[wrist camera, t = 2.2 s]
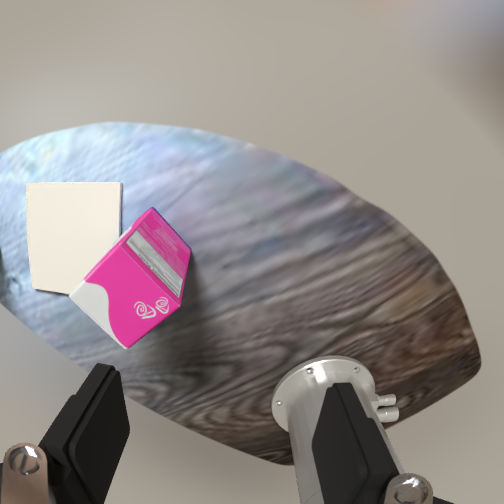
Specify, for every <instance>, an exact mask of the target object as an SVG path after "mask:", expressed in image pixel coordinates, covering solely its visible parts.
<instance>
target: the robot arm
mask: <svg viewBox="0 0 504 504" xmlns="http://www.w3.org/2000/svg"><path fill="white" fill-rule="evenodd" d="M395 402H396V397H395V395H394V394H390V395H384V396H378V394H375V383H374V380H373V377H372V375H371V373H370V372H369V370H368V369H367V368H366V367H365V366H364V364H362V363H361V362H359V361H358V360H355V359H353V358H350V357H346V356H340V355H336V356H323V357H318V358H315V359H311V360H308V361H306V362H304V363H302V364H300V365H298V366H296V367H295V368H293V369H292V370H290V371H289V372H288V373H287V374H286V375H285V376H284V377H283V378H282V379H281V380H280V381H279V383H278V384H277V385H276V387H275V390H274V392H273V395H272V399H271V407H272V413H273V417H274V419H275V421H276V422H277V423H278V425H279V426H280V427H281V428H283V429H284V430H285V431H287V432H289V436H290V442H291V448H292V454H293V460H294V466H295V472H296V478H297V484H298V490H299V496H300V502H301V504H454V503H451V502H447V501H445V500H442V499H439V498H436V497H434V496H433V489H432V486H431V484H430V482H429V481H427V480H426V479H425V478H424V477H422V476H420V475H417V474H413V473H405V471H404V469H403V467H402V465H401V463H400V461H399V459H398V457H397V454H396V452H395V450H394V448H393V446H392V444H391V442H390V440H389V438H388V436H387V434H386V432H385V430H384V428H383V426H382V424H381V422H391V421H396V420H397V419H398V416H399V411H398V408H397V407H388V408H382V409H377V408H378V406H388V405H394V404H395ZM129 433H130V425H129V421H128V416H127V410H126V405H125V400H124V394H123V389H122V382H121V376H120V372H119V371H116V370H115V367H114V366H112V365H106V364H101V363H97V364H96V365H95V367H94V368H93V370H92V371H91V372H90V374H89V375H88V377H87V378H86V380H85V381H84V383H83V384H82V386H81V387H80V389H79V390H78V392H77V393H76V395H72V396H71V397H70V398H69V399H68V401H67V402H66V404H65V405H64V407H63V408H62V410H61V411H60V413H59V414H58V416H57V417H56V419H55V420H54V422H53V423H52V425H51V426H50V428H49V429H48V431H47V433H46V434H45V436H44V437H43V439H42V440H41V442H40V443H39V445H38V446H36V445H34V444H31V443H19V444H16V445H14V446H12V447H11V448H9V449H8V450H7V452H6V453H5V456H4V460H3V463H0V504H104V501H105V499H106V496H107V493H108V490H109V487H110V484H111V482H112V479H113V476H114V474H115V471H116V468H117V465H118V463H119V460H120V457H121V455H122V452H123V449H124V447H125V444H126V442H127V439H128V436H129Z"/></svg>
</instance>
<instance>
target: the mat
mask: <svg viewBox="0 0 504 504" xmlns="http://www.w3.org/2000/svg"><path fill="white" fill-rule="evenodd" d="M121 198H122V183H116V182H44V183H26V215H27V238H28V252H29V263H30V272H31V281H32V288H35V289H41V290H47V291H53V292H59V293H65V294H70V293H71V292H72V291H73V290H74V289H75V288H76V286H77V285H78V284H79V283H80V282H81V280H82V279H83V278H84V277H85V276H86V274H87V273H88V272H89V271H90V270H91V269H92V268H93V266H94V265H95V264H96V263H97V262H98V261H99V260H100V258H101V257H102V256H103V255H104V254H105V253H106V252H107V251H108V249H109V248H110V247H111V246H112V245H113V243H114V242H115V241H116V240H117V239H118V238H119V237H120V236H121Z"/></svg>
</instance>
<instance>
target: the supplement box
mask: <svg viewBox="0 0 504 504" xmlns="http://www.w3.org/2000/svg"><path fill="white" fill-rule="evenodd" d="M190 254H191V248H190V247H189V246H188V245H187V244H186V243H185V242H184V241H183V239H182V238H181V237H180V236H179V235H178V234H177V233H176V232H175V230H174V229H173V228H172V227H171V226H170V225H169V224H168V223H167V222H166V220H165V219H164V218H163V217H162V216H161V215H160V214H159V213H158V212H157V210H156V209H155V208H154V207H151V208H150V209H148V210H147V211H146V212H145V213H144V214H143V215H142V216H141V217H139V218H138V219H137V220H136V221H135V222H134V223H133V224H132V225H131V226H130V227H129V228H128V229H127V230H126V231H125V232H124V233H123V234H122V235H121V236H120V237H119V238H118V239H117V240H116V241H115V242H114V243H113V245H112V246H111V247H110V248H109V249H108V251H107V252H106V253H105V254H104V255H103V256H102V257H101V258H100V260H99V261H98V262H97V263H96V264H95V265H94V266H93V268H92V269H91V270H90V271H89V272H88V273H87V274H86V276H85V277H84V278H83V279H82V280H81V282H80V283H79V284H78V285H77V286H76V288H75V289H74V290H73V291H72V292H71V293H70V295H69V297H70V299H72V300H73V301H74V302H75V303H76V304H77V305H78V306H79V307H80V308H81V309H82V310H83V311H84V312H85V313H86V314H87V315H88V316H89V317H91V318H92V319H93V320H94V321H95V322H96V323H97V324H98V325H99V326H100V327H101V328H102V329H103V330H104V331H105V332H106V333H108V334H109V335H110V336H111V337H112V338H113V339H114V340H115V341H116V342H117V343H119V344H120V345H121V346H122V347H123V348H124V349H126V350H127V349H129V348H130V347H131V346H132V345H134V344H135V343H136V342H137V341H139V340H140V339H141V338H142V337H144V336H145V335H146V334H147V333H149V332H150V331H151V330H152V329H153V328H155V327H156V326H157V325H158V324H160V323H161V322H162V321H163V320H165V319H166V318H167V317H168V316H170V315H171V314H172V313H173V312H174V311H176V310H177V309H178V308H180V306H181V300H182V295H183V290H184V284H185V279H186V274H187V269H188V264H189V259H190Z"/></svg>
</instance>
